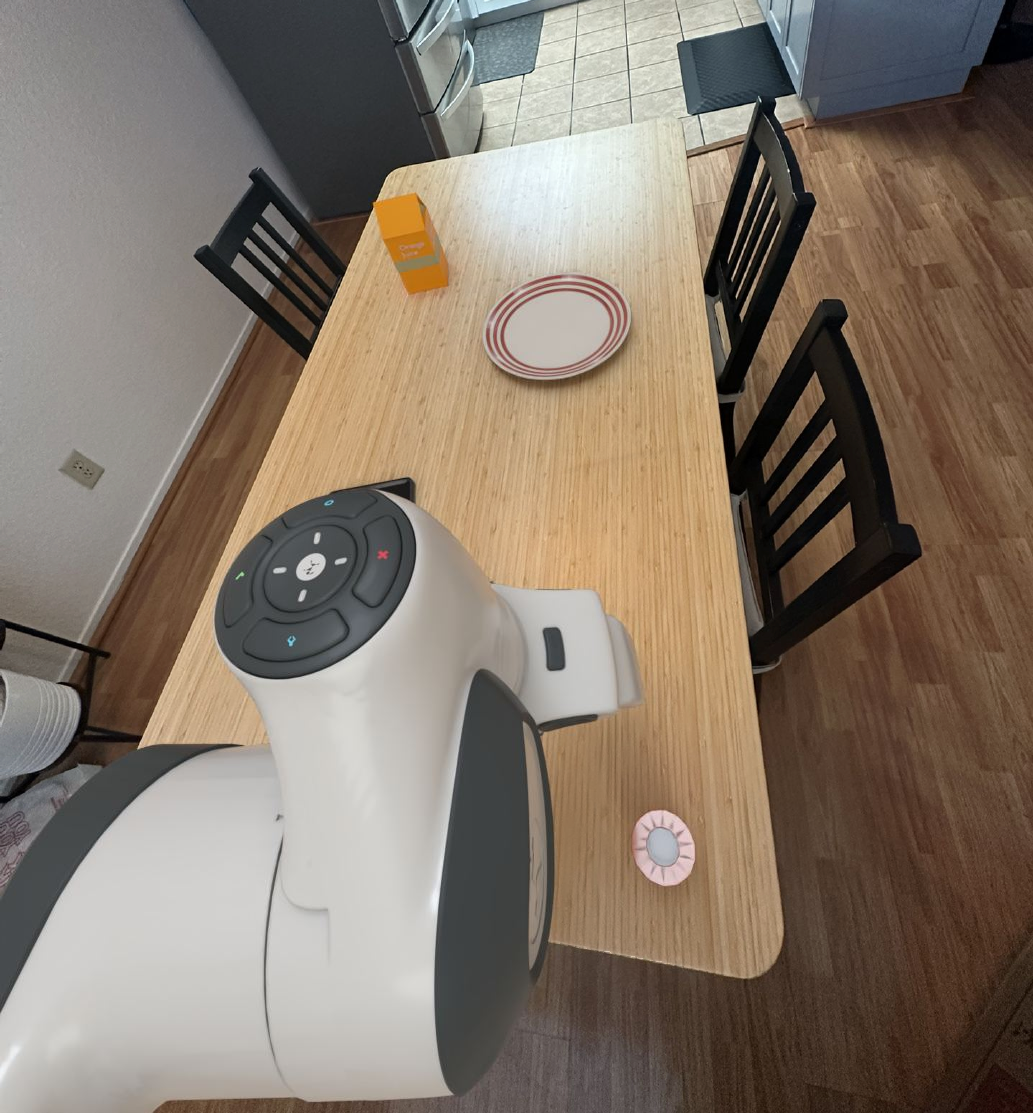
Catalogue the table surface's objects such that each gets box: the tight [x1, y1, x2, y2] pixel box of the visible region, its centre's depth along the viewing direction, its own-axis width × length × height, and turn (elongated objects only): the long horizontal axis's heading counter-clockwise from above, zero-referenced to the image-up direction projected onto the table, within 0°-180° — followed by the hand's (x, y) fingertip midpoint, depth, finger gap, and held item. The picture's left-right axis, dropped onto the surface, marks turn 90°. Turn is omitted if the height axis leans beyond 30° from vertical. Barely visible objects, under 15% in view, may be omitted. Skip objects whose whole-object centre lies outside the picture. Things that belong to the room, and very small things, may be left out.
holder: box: [630, 808, 697, 888], centre depth 57 cm, size 6×6×13 cm
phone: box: [328, 476, 416, 504], centre depth 94 cm, size 8×1×15 cm
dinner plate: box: [481, 271, 632, 381], centre depth 107 cm, size 28×27×3 cm
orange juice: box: [372, 191, 449, 295], centre depth 118 cm, size 8×9×20 cm
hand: (507, 707), depth 43 cm, fingers closed
